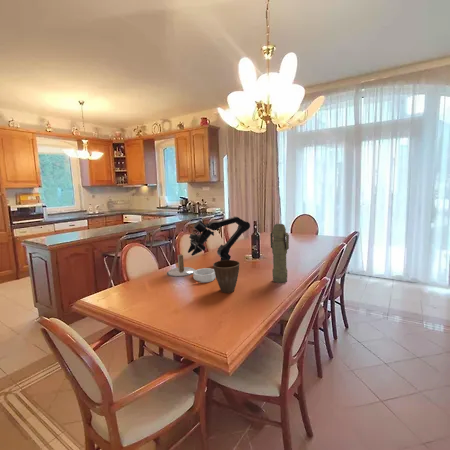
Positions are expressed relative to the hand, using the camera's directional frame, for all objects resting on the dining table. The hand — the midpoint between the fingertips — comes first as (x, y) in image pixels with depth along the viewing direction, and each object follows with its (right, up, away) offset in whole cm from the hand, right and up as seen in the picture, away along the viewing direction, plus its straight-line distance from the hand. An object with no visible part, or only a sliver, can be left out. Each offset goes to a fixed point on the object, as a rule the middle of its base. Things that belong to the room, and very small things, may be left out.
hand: (189, 253), depth 198 cm
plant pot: (+26, -18, -35) cm, 47 cm away
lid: (-6, -12, -1) cm, 14 cm away
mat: (-6, -14, -1) cm, 15 cm away
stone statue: (+58, -14, -22) cm, 64 cm away
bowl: (+11, -15, -14) cm, 23 cm away
